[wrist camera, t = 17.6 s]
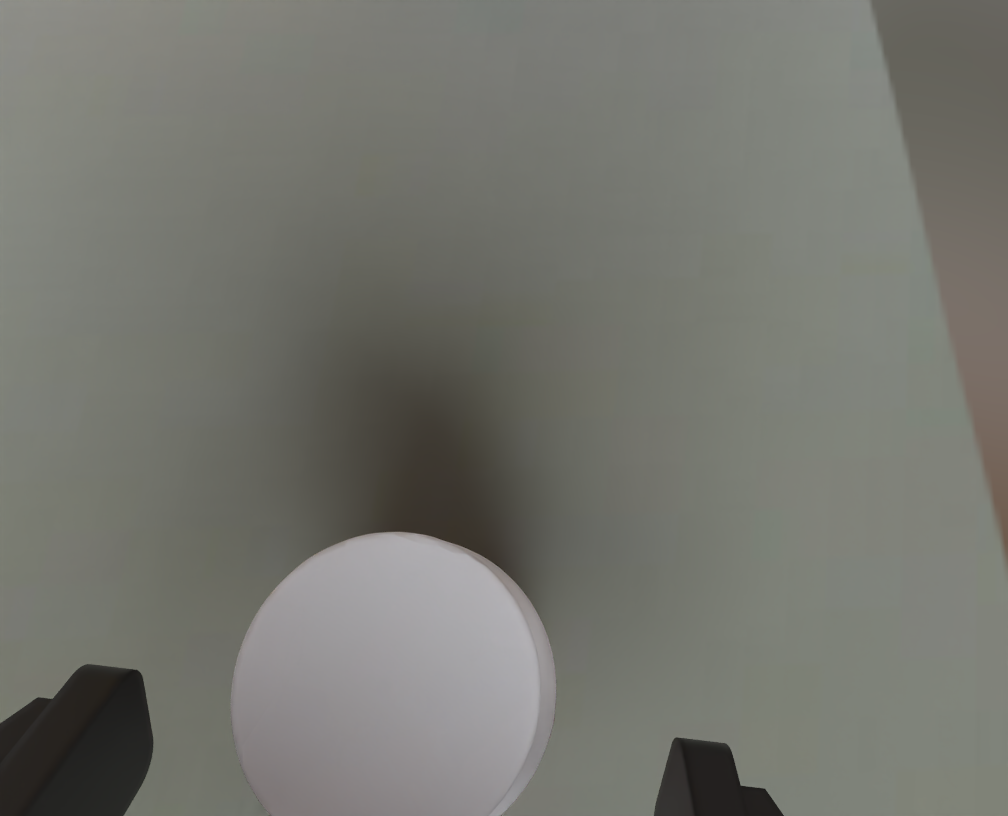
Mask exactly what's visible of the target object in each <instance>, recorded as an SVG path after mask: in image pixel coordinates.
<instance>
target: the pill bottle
mask: <svg viewBox="0 0 1008 816" xmlns="http://www.w3.org/2000/svg"><path fill="white" fill-rule="evenodd" d="M555 705H556V672H555V665H554V659H553V653H552V650H551V646H550V643H549V639H548V636H547V633H546V631H545V628H544V626H543V624H542V622H541V619H540V617H539V615H538V613H537V612H536V610H535V608H534V607H533V605H532V603H531V601H530V600H529V599H528V597H527V596H526V595H525V593H524V592H523V591H522V589H521V588H520V587H519V586H518V585H517V584H516V583H515V582H514V581H513V580H512V579H511V578H510V577H509V576H508V575H507V574H506V573H505V572H504V571H503V570H502V569H500V568H499V567H498V566H496V565H495V564H494V563H492V562H491V561H489V560H488V559H486V558H485V557H483V556H481V555H479V554H477V553H475V552H473V551H471V550H469V549H467V548H464V547H462V546H459V545H456V544H453V543H450V542H447V541H443V540H441V539H438V538H435V537H432V536H427V535H422V534H416V533H410V532H381V533H372V534H366V535H362V536H358V537H354V538H351V539H347V540H345V541H342V542H340V543H337V544H335V545H332V546H330V547H328V548H326V549H324V550H322V551H320V552H318V553H317V554H315V555H313V556H312V557H310V558H308V559H307V560H305V561H304V562H303V563H302V564H300V565H299V566H298V567H297V568H296V569H294V570H293V571H292V572H291V573H290V574H289V575H288V576H286V577H285V578H284V579H283V580H282V581H281V582H280V583H279V585H278V586H277V587H276V588H275V589H274V590H273V592H272V593H271V594H270V595H269V597H268V598H267V599H266V600H265V601H264V603H263V604H262V606H261V608H260V609H259V611H258V612H257V614H256V615H255V617H254V619H253V621H252V623H251V625H250V627H249V629H248V631H247V633H246V636H245V638H244V640H243V643H242V645H241V648H240V651H239V655H238V658H237V661H236V664H235V670H234V675H233V680H232V689H231V723H232V732H233V737H234V743H235V747H236V752H237V756H238V759H239V762H240V765H241V767H242V770H243V772H244V775H245V777H246V779H247V782H248V783H249V785H250V787H251V788H252V790H253V792H254V793H255V795H256V797H257V799H258V801H259V802H260V803H261V804H262V806H263V807H264V808H265V809H266V811H267V812H268V813H269V814H270V815H271V816H500V815H502V814H503V813H504V812H505V811H506V810H507V809H508V808H509V807H510V806H511V804H512V803H513V802H514V801H515V800H516V799H517V798H518V796H519V795H520V794H521V793H522V791H523V790H524V789H525V787H526V786H527V784H528V783H529V781H530V780H531V778H532V776H533V775H534V773H535V771H536V769H537V767H538V765H539V763H540V761H541V759H542V756H543V754H544V752H545V749H546V746H547V743H548V740H549V738H550V735H551V731H552V727H553V723H554V717H555Z"/></svg>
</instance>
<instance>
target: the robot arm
mask: <svg viewBox="0 0 1008 816" xmlns="http://www.w3.org/2000/svg"><path fill="white" fill-rule="evenodd" d="M152 753H153V735H152V729H151V723H150V717H149V711H148V705H147V699H146V693H145V687H144V681H143V677H142V675H141V673H140V672H139V671H138V670H133V669H125V668H117V667H108V666H100V665H92V664H87V665H84V666H82V667H80V668H79V669H78V670H77V671H75V673H74V674H73V675H72V676H71V677H70V678H69V680H68V681H67V682H66V683H65V685H64V686H63V687H62V688H61V689H60V691H59V692H58V693H57V694H56V696H55V697H54V698H53V699H47V698H39V697H38V698H36V699H35V700H33V701H32V702H31V703H29V704H28V705H26V706H25V707H23V708H22V709H21V710H19V711H18V712H16V713H15V714H13V715H12V716H11V717H9V718H8V719H6V720H5V721H3V722H2V723H1V724H0V816H124V814H125V812H126V811H127V809H128V807H129V805H130V804H131V802H132V800H133V799H134V797H135V795H136V794H137V792H138V790H139V789H140V787H141V785H142V783H143V781H144V779H145V777H146V774H147V772H148V769H149V766H150V762H151V758H152ZM654 816H784V815H783V814H782V812H781V811H780V810H779V808H778V807H777V805H776V804H775V802H774V801H773V800H772V798H771V797H770V795H769V794H768V792H767V791H766V790H765V789H762V788H754V787H746V786H740V782H739V778H738V774H737V770H736V766H735V762H734V758H733V755H732V752H731V750H730V748H729V746H728V745H727V744H725V743H718V742H710V741H702V740H693V739H685V738H677V737H676V738H675V739H674V740H673V742H672V745H671V749H670V753H669V756H668V760H667V764H666V768H665V771H664V775H663V779H662V783H661V786H660V790H659V794H658V798H657V801H656V806H655V812H654Z"/></svg>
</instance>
